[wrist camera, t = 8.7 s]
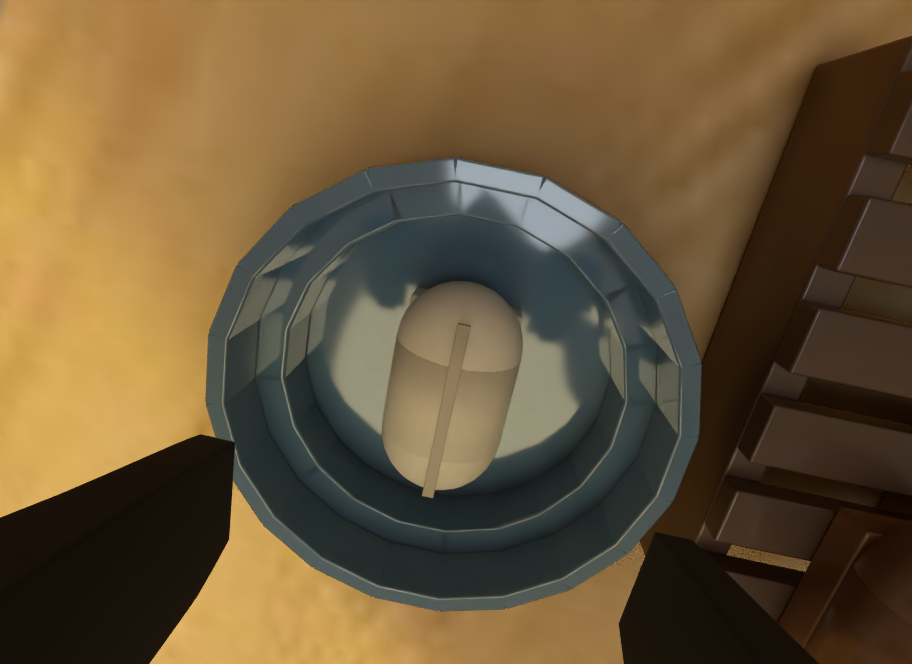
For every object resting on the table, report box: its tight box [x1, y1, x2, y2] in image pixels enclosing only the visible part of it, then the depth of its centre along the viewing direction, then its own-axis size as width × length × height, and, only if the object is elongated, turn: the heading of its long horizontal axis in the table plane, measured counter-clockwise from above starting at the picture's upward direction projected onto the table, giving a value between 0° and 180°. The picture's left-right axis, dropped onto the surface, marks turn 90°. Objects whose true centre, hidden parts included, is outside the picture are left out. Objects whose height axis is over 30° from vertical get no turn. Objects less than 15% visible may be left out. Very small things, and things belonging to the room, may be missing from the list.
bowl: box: [206, 157, 702, 612], centre depth 14 cm, size 12×12×4 cm
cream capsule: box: [382, 281, 523, 498], centre depth 14 cm, size 6×3×3 cm, turn 169°
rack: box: [640, 36, 912, 623], centre depth 13 cm, size 15×8×4 cm, turn 169°
